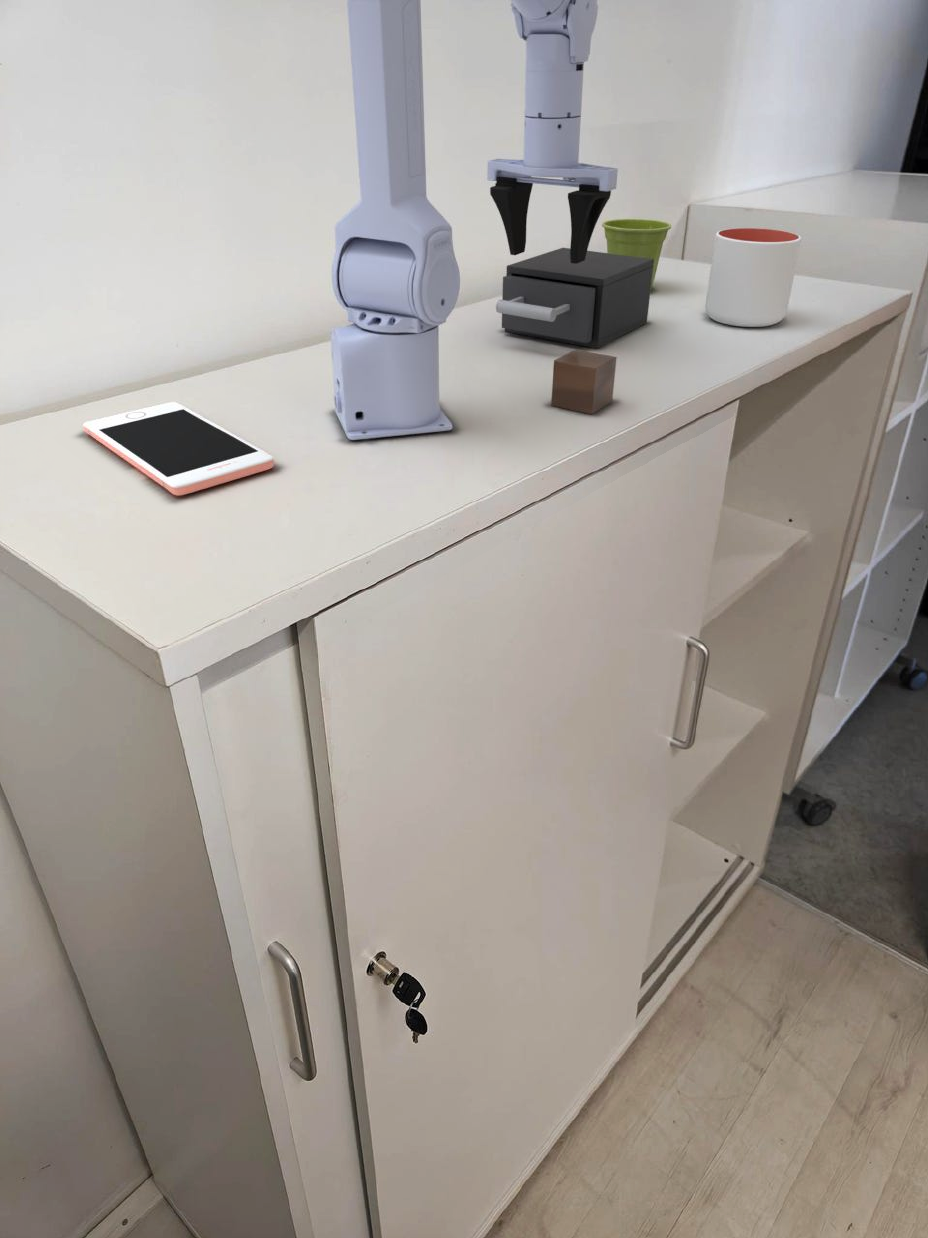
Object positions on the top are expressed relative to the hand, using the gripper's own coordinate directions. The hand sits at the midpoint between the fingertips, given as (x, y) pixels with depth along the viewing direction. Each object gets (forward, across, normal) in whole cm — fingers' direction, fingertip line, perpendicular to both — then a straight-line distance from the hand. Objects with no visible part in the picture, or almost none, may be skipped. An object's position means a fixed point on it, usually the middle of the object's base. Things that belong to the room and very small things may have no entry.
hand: (547, 257), depth 97 cm
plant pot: (+11, +4, -31) cm, 33 cm away
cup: (+10, -15, -24) cm, 31 cm away
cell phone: (+8, +10, +46) cm, 48 cm away
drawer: (+9, 0, -4) cm, 10 cm away
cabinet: (+10, 0, -9) cm, 13 cm away
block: (+9, -13, +16) cm, 22 cm away
